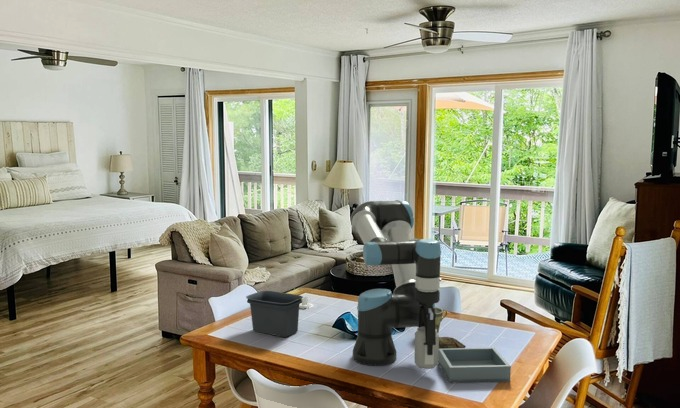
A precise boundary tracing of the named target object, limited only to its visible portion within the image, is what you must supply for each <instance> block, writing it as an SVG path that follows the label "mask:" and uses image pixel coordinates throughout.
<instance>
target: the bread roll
mask: <svg viewBox="0 0 680 408" xmlns="http://www.w3.org/2000/svg"><path fill="white" fill-rule="evenodd" d="M447 348H467V346H466V345H465V344H463V343H462V342H460V341H458V339H456V338H454V337H451V336H450V337H449V336H442V337H441V336H439V349H447Z"/></svg>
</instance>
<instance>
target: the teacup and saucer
mask: <svg viewBox="0 0 680 408" xmlns="http://www.w3.org/2000/svg"><path fill="white" fill-rule="evenodd" d="M301 300H302V303H301V304H299V309H310V308H313V307H314V304H312V303H308V302H309V298H308V297H307V296H303V298H302V299H301ZM308 305H309V306H308Z"/></svg>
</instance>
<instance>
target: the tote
mask: <svg viewBox="0 0 680 408" xmlns="http://www.w3.org/2000/svg"><path fill="white" fill-rule="evenodd" d="M438 365H439V367H440V369H441V370H442V373H443V374H444V376H445V378H447V381H448V383H449V384H466V383H467V384H470V383H472V384H475V383H511V371H512V370H511V369H512V368H511V367H512V366H511V365H510V364H509V362H507V360H506V359H505V358H504V357H503V356H502V355H501V354H500V353H499V351H498V349H496V348H495V347H465V348H447V349H439V351H438Z"/></svg>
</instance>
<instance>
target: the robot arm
mask: <svg viewBox="0 0 680 408" xmlns="http://www.w3.org/2000/svg"><path fill="white" fill-rule="evenodd" d="M414 218H415V217H414V212H413V209H412V206H411V204H409V202H408V201H406V200H398V199H396V200H383V201H382V200H370V201H365V202H362V203H361V204H359V205H358V206H357V207H355V209H353V211H352V213H351V215H350V225H351V227H352V229H353V231H354V232H355V233H357V234H358V236H359V237H360V239H361V241H362V243H363V246H362V247H363V248H362V258H363V262H364V264H365V265H367V266H376V267H377V266H388V265H390V266H391V268H392V271H393V276H394V283H395V288H394V290H393V293H392V291H391V289H388V288H372V289H368V290H365V291H364V292H361V293H360V294H359V295H358V299H357V306H356V310H357V337H356V339H355V342H354V346H353V349H352V360H354V361H355V362H356V363H359V364H361V365H364V366H365V365H366V366H377V367H378V366H386V365H389V364H392V363H394V362H395V361H396V360H397V349H396V346H395V343H394V339H393V338H392V337H393V336H392V329H396V328H398V329H399V328H416V327H417V328H419V327H423V326H425V337H426V343H423V344H424V345H425V362H424V364H425V365H426V364H434V345H436V331H435V319H436V313H435V307H436V306H435V305H436V304H439V302H440V298H441V297H440V294H441V293H440V292H441V291H440V287H441V286H440V282H442V278H441V255H442V250H441V242H440V241H439V240H437V239H433V238H422V239H419V238H412V239H410V236H409V234H410V232H411V230H412V229H413V228H414V223H415V220H414Z"/></svg>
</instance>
